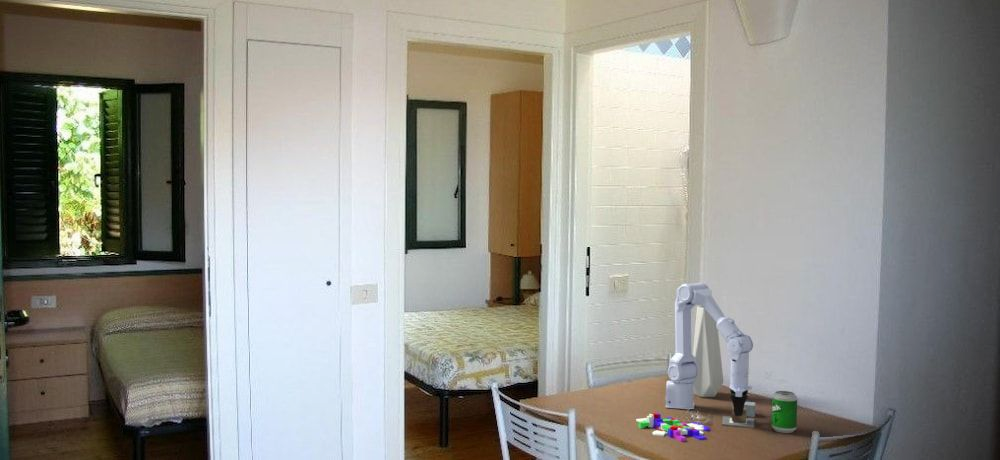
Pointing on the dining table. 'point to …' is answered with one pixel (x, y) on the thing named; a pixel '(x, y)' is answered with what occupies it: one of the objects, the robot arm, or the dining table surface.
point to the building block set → (673, 427)
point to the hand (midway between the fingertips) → (738, 413)
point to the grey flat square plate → (728, 422)
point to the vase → (707, 355)
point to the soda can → (784, 411)
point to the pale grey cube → (750, 409)
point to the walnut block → (739, 418)
